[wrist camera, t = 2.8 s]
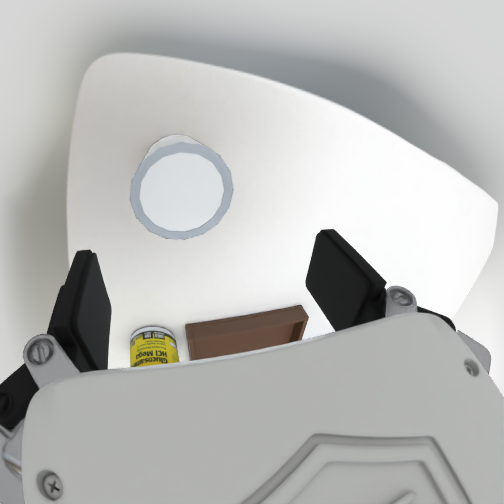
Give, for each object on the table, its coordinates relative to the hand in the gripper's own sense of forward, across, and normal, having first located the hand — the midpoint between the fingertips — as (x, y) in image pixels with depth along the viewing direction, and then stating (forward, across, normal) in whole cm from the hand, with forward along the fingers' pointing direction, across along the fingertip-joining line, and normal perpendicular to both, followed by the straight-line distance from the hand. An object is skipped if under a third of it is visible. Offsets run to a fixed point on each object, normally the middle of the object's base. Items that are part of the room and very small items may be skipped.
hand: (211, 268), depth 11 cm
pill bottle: (+15, +6, +22) cm, 27 cm away
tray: (+15, -7, +27) cm, 32 cm away
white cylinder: (+15, +1, 0) cm, 15 cm away
